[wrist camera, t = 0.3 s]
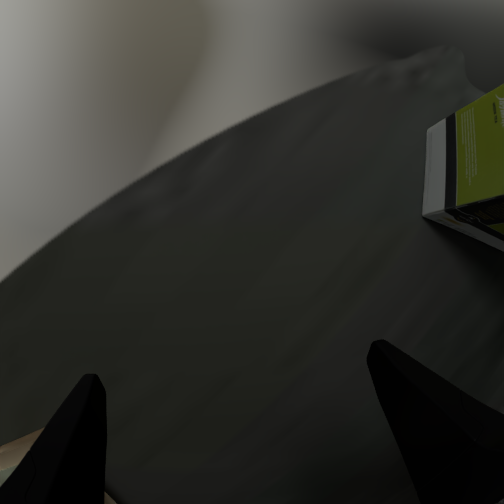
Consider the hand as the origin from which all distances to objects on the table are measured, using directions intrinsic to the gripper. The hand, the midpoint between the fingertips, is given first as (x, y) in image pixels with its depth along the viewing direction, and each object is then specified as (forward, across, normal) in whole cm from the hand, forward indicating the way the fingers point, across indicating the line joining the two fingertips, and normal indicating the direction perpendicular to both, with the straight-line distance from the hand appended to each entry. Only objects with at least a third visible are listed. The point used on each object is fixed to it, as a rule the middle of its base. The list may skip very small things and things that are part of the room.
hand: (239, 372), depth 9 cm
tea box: (+17, -28, +1) cm, 33 cm away
